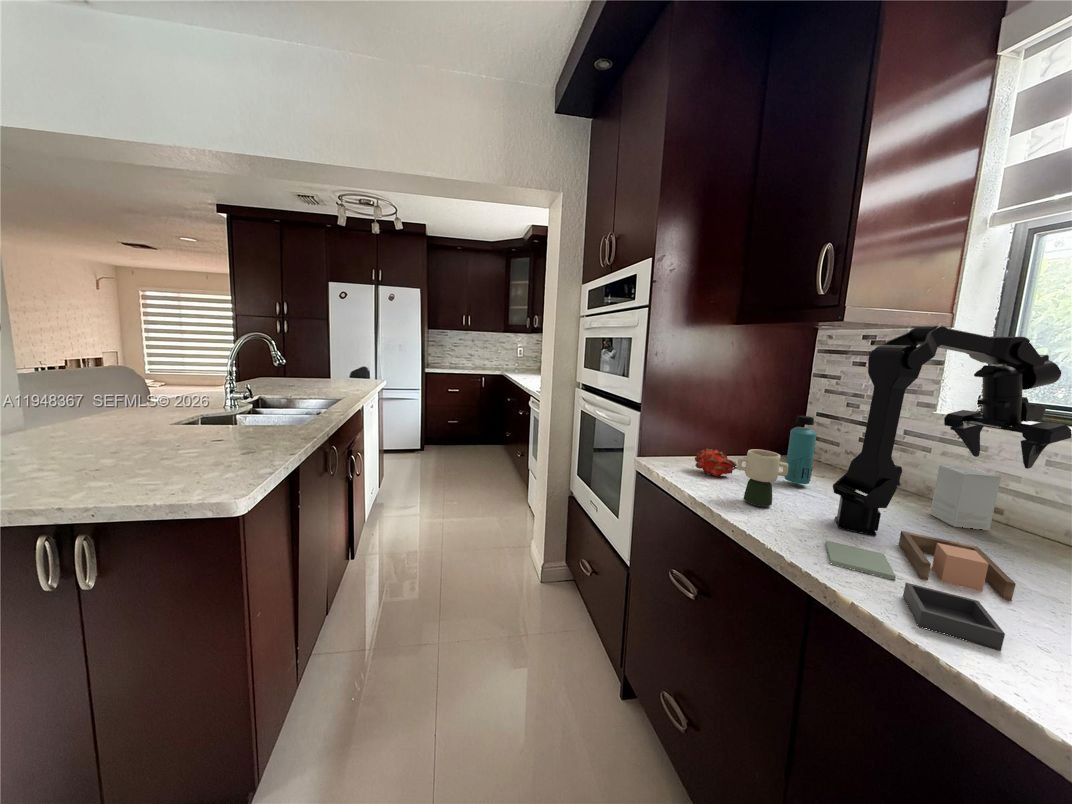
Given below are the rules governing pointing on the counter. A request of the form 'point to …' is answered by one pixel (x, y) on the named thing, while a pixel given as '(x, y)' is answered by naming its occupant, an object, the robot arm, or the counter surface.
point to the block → (960, 566)
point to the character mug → (761, 475)
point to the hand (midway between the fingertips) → (1001, 461)
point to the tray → (953, 616)
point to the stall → (918, 544)
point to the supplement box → (965, 496)
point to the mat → (859, 559)
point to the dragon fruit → (714, 463)
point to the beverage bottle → (801, 452)
